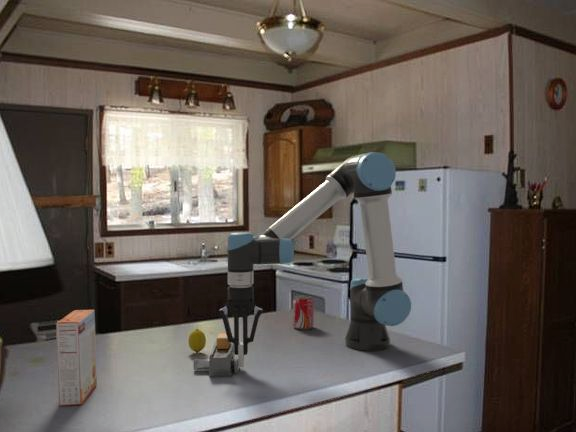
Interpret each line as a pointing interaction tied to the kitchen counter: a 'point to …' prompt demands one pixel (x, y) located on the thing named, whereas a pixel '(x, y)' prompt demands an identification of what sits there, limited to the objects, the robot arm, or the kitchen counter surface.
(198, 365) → the pin
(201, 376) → the kitchen counter surface
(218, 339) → the block
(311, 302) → the beverage can
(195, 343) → the lemon
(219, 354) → the block
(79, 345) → the cracker box
